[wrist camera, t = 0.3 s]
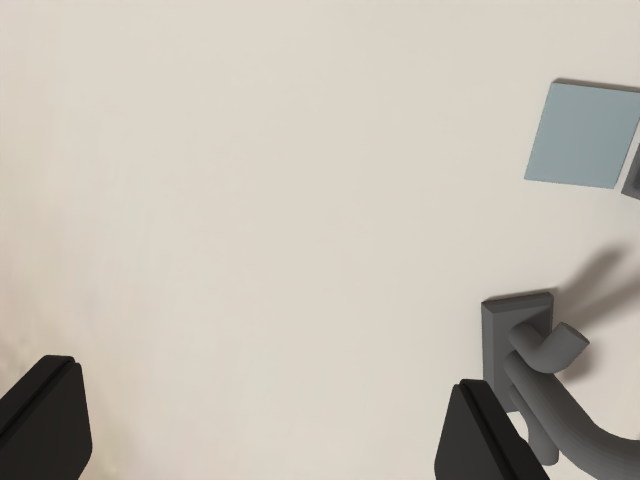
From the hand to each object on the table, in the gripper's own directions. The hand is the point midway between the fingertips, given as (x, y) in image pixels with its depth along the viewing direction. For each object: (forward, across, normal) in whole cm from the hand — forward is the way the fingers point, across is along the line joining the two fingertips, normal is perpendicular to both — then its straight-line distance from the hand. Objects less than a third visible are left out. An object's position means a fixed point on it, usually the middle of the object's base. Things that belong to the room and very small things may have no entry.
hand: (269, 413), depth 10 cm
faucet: (+37, -33, +22) cm, 54 cm away
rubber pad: (+36, -30, -5) cm, 47 cm away
